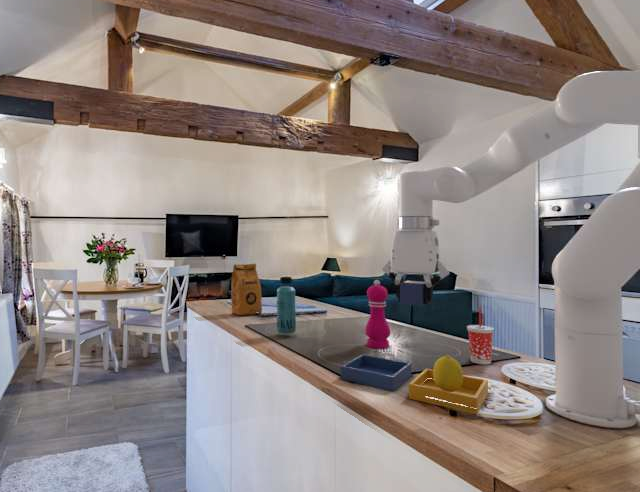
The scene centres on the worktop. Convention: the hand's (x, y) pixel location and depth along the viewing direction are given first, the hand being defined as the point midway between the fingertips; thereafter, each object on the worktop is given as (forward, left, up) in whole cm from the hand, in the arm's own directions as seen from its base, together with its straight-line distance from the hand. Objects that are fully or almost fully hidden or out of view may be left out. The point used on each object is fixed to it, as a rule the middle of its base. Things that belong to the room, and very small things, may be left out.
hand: (414, 301), depth 95 cm
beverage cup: (-10, -23, -18) cm, 31 cm away
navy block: (0, 0, 0) cm, 0 cm away
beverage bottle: (+46, -16, -18) cm, 52 cm away
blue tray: (+7, +5, -18) cm, 20 cm away
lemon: (-9, +7, -18) cm, 21 cm away
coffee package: (+81, -38, -18) cm, 92 cm away
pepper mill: (+17, -22, -18) cm, 33 cm away
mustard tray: (-9, +7, -18) cm, 21 cm away
